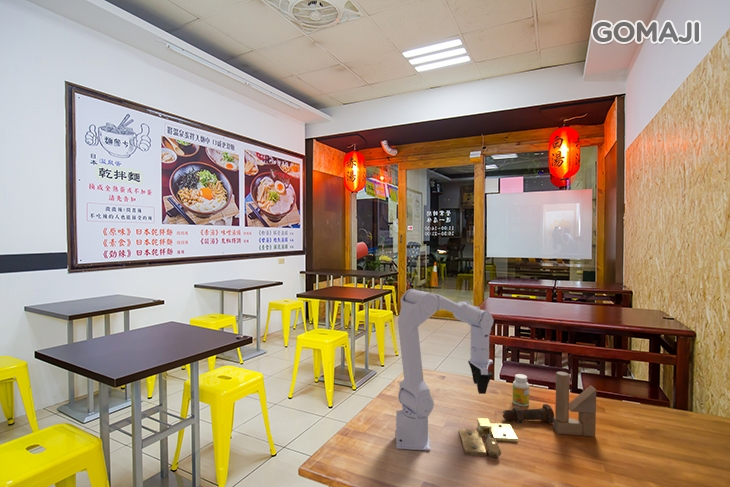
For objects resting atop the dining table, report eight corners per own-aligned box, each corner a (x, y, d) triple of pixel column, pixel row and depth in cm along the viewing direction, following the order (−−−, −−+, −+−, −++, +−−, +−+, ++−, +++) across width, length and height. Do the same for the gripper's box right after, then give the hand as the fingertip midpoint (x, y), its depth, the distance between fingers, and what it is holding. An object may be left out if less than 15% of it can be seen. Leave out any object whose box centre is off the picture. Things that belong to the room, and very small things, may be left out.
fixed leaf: (465, 456, 99) (465, 444, 99) (458, 432, 111) (458, 422, 111) (500, 458, 98) (500, 446, 98) (490, 434, 110) (490, 423, 110)
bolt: (503, 425, 118) (549, 424, 118) (508, 425, 114) (556, 423, 114) (499, 406, 121) (544, 404, 121) (504, 405, 116) (551, 403, 116)
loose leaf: (481, 439, 107) (482, 429, 107) (476, 425, 115) (476, 415, 115) (517, 441, 106) (517, 431, 106) (509, 426, 114) (509, 417, 113)
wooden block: (595, 437, 108) (596, 377, 107) (557, 434, 110) (558, 375, 109) (590, 430, 112) (591, 372, 111) (552, 427, 113) (553, 370, 113)
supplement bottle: (509, 401, 131) (509, 374, 131) (520, 398, 133) (520, 372, 133) (521, 407, 126) (521, 380, 126) (532, 404, 128) (532, 377, 128)
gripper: (498, 354, 110) (498, 399, 110) (487, 340, 124) (487, 379, 125) (474, 353, 110) (474, 398, 111) (466, 339, 125) (466, 378, 125)
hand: (479, 388), depth 118 cm, fingers open, 7 cm apart
